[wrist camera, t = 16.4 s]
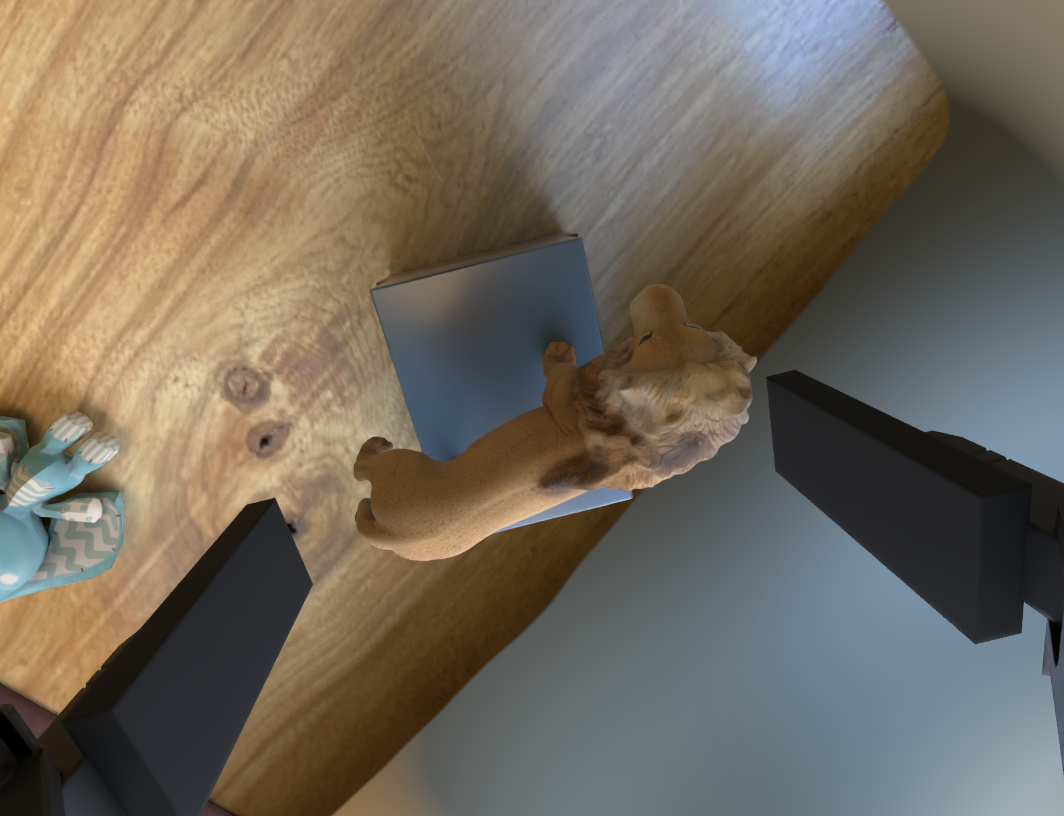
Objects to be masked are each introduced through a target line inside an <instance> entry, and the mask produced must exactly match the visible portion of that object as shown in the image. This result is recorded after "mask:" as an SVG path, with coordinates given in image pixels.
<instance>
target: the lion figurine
mask: <svg viewBox="0 0 1064 816" xmlns="http://www.w3.org/2000/svg"><path fill="white" fill-rule="evenodd" d="M629 312H630V318H631V321H632V324H633V330H634V334H633V337H631V338H629V339H627V340H626V341H625V342H624V343H623V344H620V345H619V346H617V347H616V348H614V349H612V350H611V351H610V352H609V353H605V354H602V355H600V356H598V357H596V358H594V359H593V360H591V361H589V362H588V363H586V364H585V365H583V366H581V367H580V368H579V367H577V366H575V362H576V357H575V355H574V348H573V347H572V346H569V345H568V344H567V343H565V342H551V343H550V344H549V346H548V347H547V349H546V352H545V354H544V358H543V361H542V369H543V377H544V379H545V380H546V385H545V389H544V392H543V394H542V397H541V401H542V403H543V406H542V407H539V408H536V409H533V410H530V411H528V412H525V413H523V414H521V415H519V416H517V417H515V418H514V419H512V420H510V421H508V422H507V423H505V424H503V425H501V426H499V427H497V428H495V429H493V430H492V431H490V432H488V433H487V434H485V435H484V436H482V437H481V438H479V439H478V440H476V441H475V442H474V443H472V444H471V445H470V446H469V447H468V448H467V449H466V450H464V451H463V452H462V453H461V454H460V455H459V456H457V457H456V458H454V459H452V460H450V461H445V462H442V461H437V460H435V459H432V458H431V457H429V456H427V455H425V454H423V453H421V452H418V451H414V450H408V449H393V444H392V443H391V442H389V441H387V440H386V439H385V438H382V437H372V438H370V439H369V440H367V441H366V442H365V443H364V444H363V445H362V447H361V449H360V452H359V454H358V456H357V459H356V462H355V464H354V476H355V478H356V479H357V480H358V481H363V480H369V481H370V482H371V484H372V490H371V499H370V498H364V499H363V500H361V501H360V503H359V505H358V509H357V512H356V514H355V521H356V525H357V529H358V531H359V533H360V535H361V536H362V537H363V538H364V539H365V540H366V541H367V542H368V543H370V544H371V545H373V546H376V547H379V548H383V549H388V550H393V551H394V552H396V553H397V554H398V555H399V556H401V557H403V558H407V559H411V560H419V561H428V560H433V559H442V558H448V557H452V556H455V555H458V554H460V553H462V552H464V551H466V550H468V549H470V548H471V547H472V546H474V545H475V544H476V543H478V542H479V541H481V540H482V539H484V538H485V537H487V536H489V535H490V534H492V533H494V532H495V531H498V530H500V529H502V528H504V527H506V526H509V525H511V524H514V523H516V522H518V521H521V520H523V519H525V518H528V517H530V516H533V515H535V514H537V513H540V512H542V511H545V510H547V509H549V508H551V507H554V506H556V505H558V504H560V503H563V502H565V501H567V500H569V499H571V498H573V497H576V496H578V495H581V494H583V493H585V492H587V491H594V490H596V489H598V488H603V487H605V488H608V489H610V490H615V489H617V488H618V489H619V490H621V491H623V492H628V491H632V490H633V489H634V488H637V489H642V488H646V487H648V486H649V487H653V486H654V485H656V484H657V483H659V482H660V481H662V480H664V479H668V478H671V477H672V476H673V475H674V474H683V473H685V472H686V471H688V470H690V469H691V468H692V467H693V466H695V465H696V464H697V463H698V462H700V461H702V460H708V459H710V458H712V457H713V456H714V455H715V454H716V453H717V452H718V449H719V447H720V446H721V445H722V444H725V443H727V442H730V441H731V440H733V439H734V438H735V437H736V435H737V434H738V432H739V430H740V427H741V424H745V423H746V422H747V421H748V419H749V414H748V412H747V408H748V407H749V406H750V404H751V402H752V399H753V393H752V390H751V380H750V376H749V372H750V371H751V370H752V369H753V367H754V366H755V365H756V361H757V357H756V356H755V357H751V356H750V355H748V354H746V353H744V352H743V351H742V348H741V347H740V346H737V345H736V343H735V342H733V341H732V340H731V339H730V338H729V337H728V336H727V335H726V334H725V333H724V332H722V331H719V332H716V333H714V332H708V331H705V330H704V329H703V328H701V327H700V326H698V325H695V324H693V323H692V322H691V321H690V320H689V318H688V316H687V315H686V312H685V308H684V303H683V301H682V298H681V297H680V295H679V294H678V292H676V291H675V290H673V289H672V288H671V287H670V286H668V285H667V284H651V285H648V286H646V287H645V288H644V289H643V290H642V291H641V293H640V294H639V295H637V296H636V297H635V298H634V299H633V300H632V302H631V305H630V310H629Z"/></svg>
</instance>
